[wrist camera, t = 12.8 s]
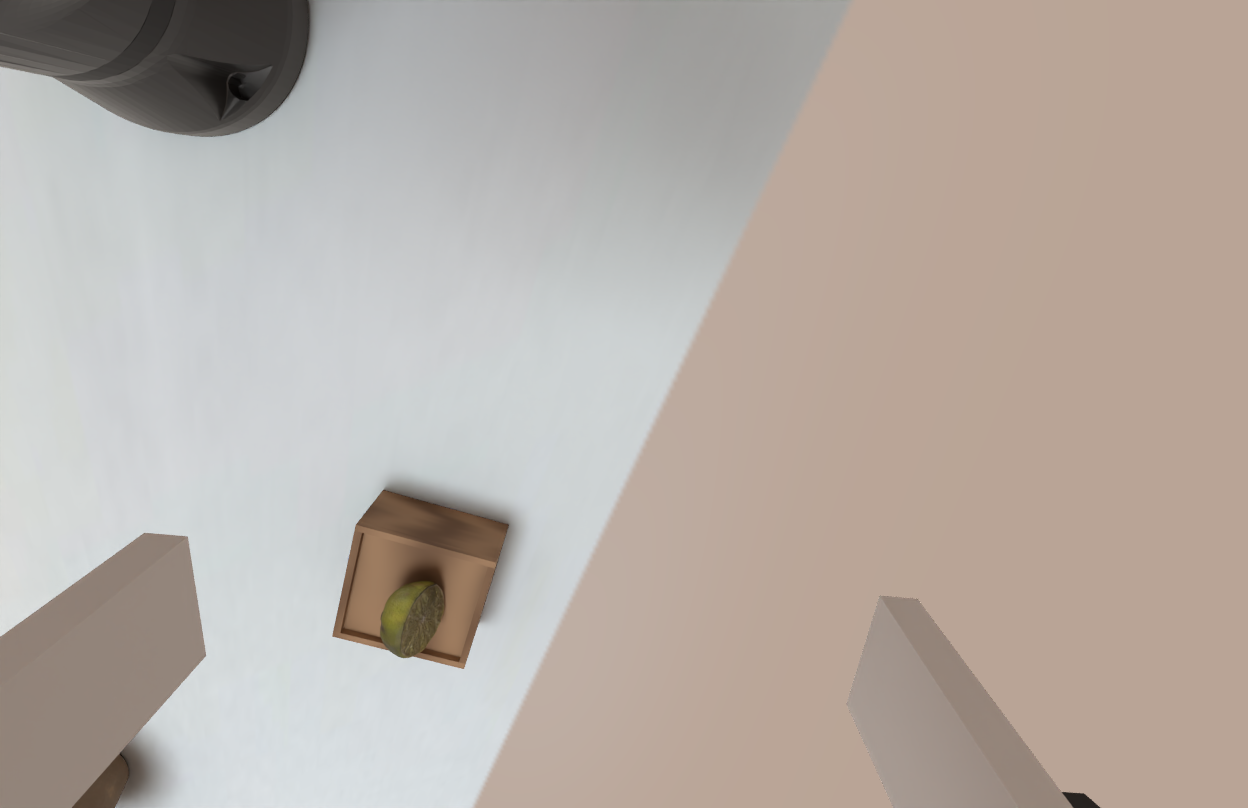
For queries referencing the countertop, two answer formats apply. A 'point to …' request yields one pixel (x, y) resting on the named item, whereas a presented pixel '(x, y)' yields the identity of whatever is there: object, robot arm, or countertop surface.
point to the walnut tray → (419, 570)
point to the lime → (411, 618)
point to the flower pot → (106, 787)
